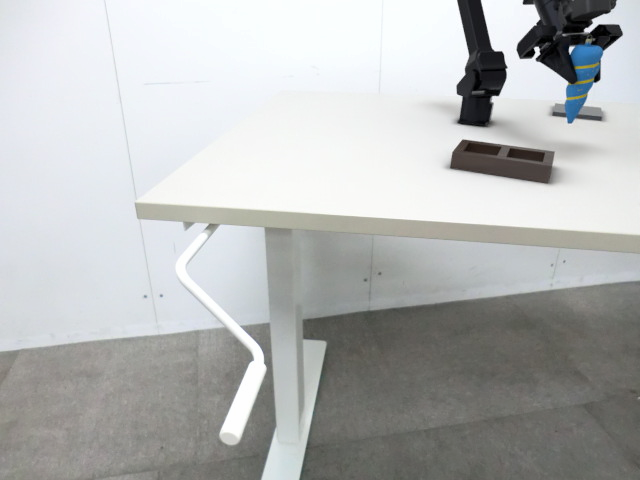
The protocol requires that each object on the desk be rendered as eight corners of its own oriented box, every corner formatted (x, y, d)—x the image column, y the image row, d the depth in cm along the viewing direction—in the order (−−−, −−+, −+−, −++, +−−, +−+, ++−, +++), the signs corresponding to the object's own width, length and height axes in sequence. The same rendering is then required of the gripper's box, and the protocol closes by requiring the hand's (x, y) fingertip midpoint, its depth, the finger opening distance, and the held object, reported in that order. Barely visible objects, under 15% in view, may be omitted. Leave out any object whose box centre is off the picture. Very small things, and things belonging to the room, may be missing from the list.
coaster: (552, 115, 121) (553, 111, 121) (554, 106, 130) (555, 103, 130) (601, 120, 117) (602, 116, 117) (600, 111, 126) (601, 107, 125)
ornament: (587, 128, 86) (613, 37, 78) (557, 126, 86) (579, 36, 79) (579, 120, 90) (603, 33, 83) (550, 119, 91) (571, 32, 84)
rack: (548, 183, 79) (552, 166, 78) (449, 168, 85) (452, 151, 84) (550, 167, 86) (554, 151, 85) (460, 154, 92) (462, 139, 91)
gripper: (544, -30, 77) (579, 53, 73) (631, -28, 82) (667, 50, 79) (502, 20, 87) (531, 95, 83) (582, 19, 93) (612, 89, 89)
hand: (586, 82), depth 83 cm, fingers closed on ornament, 5 cm apart
